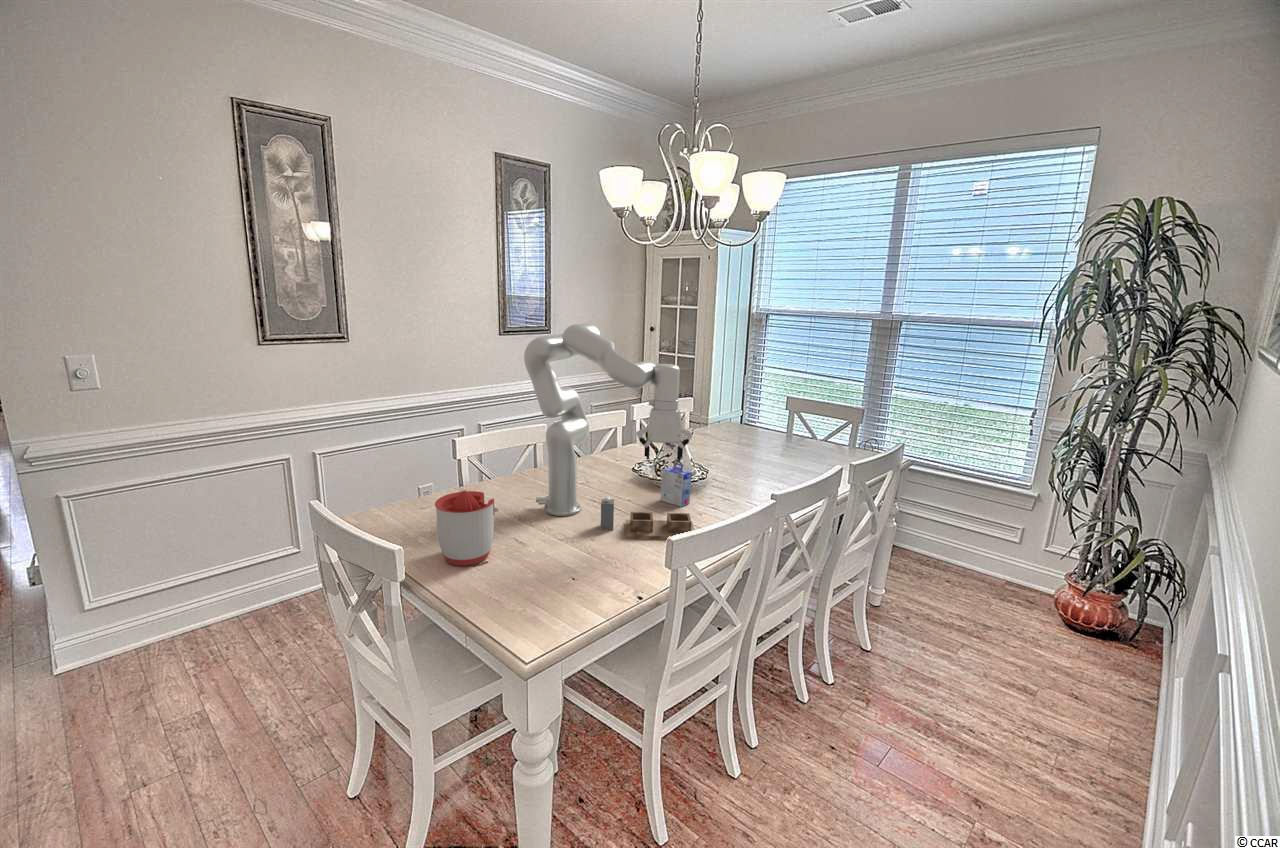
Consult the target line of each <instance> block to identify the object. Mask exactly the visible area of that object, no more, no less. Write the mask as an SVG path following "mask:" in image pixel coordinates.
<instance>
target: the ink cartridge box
mask: <svg viewBox="0 0 1280 848" xmlns="http://www.w3.org/2000/svg"><path fill="white" fill-rule="evenodd" d="M678 466H679V467H678ZM683 468H684V464H683V463H679V462H675V464H674V466H668V467H665V468H663V469H662V470H661V486H660V501H662V502H665V503H669V504H671V505H674V506H678V507H684V506H687V505H690V500H691V485H692V472H691V471H688V470H684V469H683Z"/></svg>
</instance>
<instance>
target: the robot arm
mask: <svg viewBox="0 0 1280 848" xmlns="http://www.w3.org/2000/svg"><path fill="white" fill-rule="evenodd" d="M615 349H616V345H615V343H614V341H612V340H610V339H608V338H606V337H605V336H602V335H601V332H600V330H599V329H598V327H597V326H595V325H593V324H591V323H576V324H572V325H569V326H568V327H566V328H565V330H564V331H563V332H562V333H560V334H553V335H552V334H551V335H549V334H548V335H542V336H539V337H536V338H534V339H532V340H531V341H530V342H529V343H528V344H527V345H526V348H525V350H524V355H523V361H524V365H525V369H526V371H527V373H528V377H529V378H530V380H531V383H532V386H533V390H534V393H535V396H536V398H537V402H538V405H539V408H540V411H541V414H542V415H544V417H545V418H548V419H555V418H560V417H561V419H560V420H558V421H555V422H553V423H552V424H551V425H550V426H548V428H547V429H546V431H545V443H546V447H547V454H548V457H547V458H548V461H547V462H548V496H545V497H543V496H542V497H541V496H536V497H535V502H536V503H537V504H538V505H544V507H543V510H544V512H545V513H546V514H548V515H551V516H553V517H554V516H555V517H569V516H573V515H575V514H579V512H580V511H581V509H582V506H581V504H580V503H579V502H577V487H578V486H577V480H578V479H577V472H578V471H577V469H578V467H577V464H578V462H577V461H578V460H577V455H576V452H575V449H574V448H575V447H574V446H576V445H577V444H579V443H582V442H584V441H585V440H587V438H588V437H589V434H590V425H589V421H588V417H587V415H586V412H585V409H584V406H583V403H582V400H581V397H580V394H578V392H577V391H576V390H575V389H574V388H572V387H570V386H561V385H560V382H559V379H558V375H557V374H556V372H555V370H554V369H553V367H552V366H551V365H550V362H556V361H560V360H562V361H563V360H566V359H570V358H572V357H574V356H577V355H578V356H581V357H583V358H585V359H586V360H588V361H590V362H592V363H593V364H596V365H597V366H600V368H601V370H602V371H603V372H604V373H605V374H606V375H607V376H608V377H609V378H610V379H612V380H614V381H616V382H618V383H620V384H621V385H623V386H625V387H628V388H630V389H634V390H637V389H638V390H639V389H642V388H644V387H648V386H653V399H652V400H648V406H651V407H652V408H651V409H650V412H649V417H648V425H647V426H646V427H644V428H642V429H639V430H638V431H636V432H635V433H636V437H637V439H638V440H639V443H641V444H642V445H643V447H644V457H646V460H650V447H651V446H650V445H651V443H660V444H677V445H678V446H677V451H676V452H677V454H676V455H677V456H676V458H677V461H681V458H683V453H684V452H683V451H684V450H683V449H684V447H686V445H688V444H689V443H690V440H691V439H692V437H693V433H692V432H690V431H688V430H687V429H685V428H683V427H682V413H681V409H679V395H680V393H679V392H680V375H681V369H680V367H679V366H678V365H676V364H671V363H660V362H659V363H658V362H655V361H650V360H646V361H645V360H644V361H640V362H636V363H635V362H633V361H630V360H628V359H626V358H625V357H623V356H621V354H618V353H617V351H615ZM646 433H647V438H646V439H645V438H644V437H643V436H642V435H643V434H646ZM682 434H683V435H684V436H685V438H684V439H683V440H682Z"/></svg>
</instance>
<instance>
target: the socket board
mask: <svg viewBox="0 0 1280 848" xmlns="http://www.w3.org/2000/svg"><path fill="white" fill-rule="evenodd" d="M691 519H692V518H691V515H690V513H689V512H667V517H666V520H659V519H658V520H657V519H655V520H654V516H653V512H649V511H630V517H629V519H625V540H629V539H630V540H632V539H633V540H662V541H663V540H664V541H665V540H666V539H667V538H668V537H669V536H673V535H676V534H680V533H684V532H688V531H692V530H695V528H694V523H693V521H692V520H691Z"/></svg>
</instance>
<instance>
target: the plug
mask: <svg viewBox="0 0 1280 848" xmlns="http://www.w3.org/2000/svg"><path fill="white" fill-rule="evenodd" d="M600 503H601V504H600V531H614V516H615V515H614V513H615V498H614V499H613V498H612V499H611V497H610V496H605V497H604V498H601V502H600Z"/></svg>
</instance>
